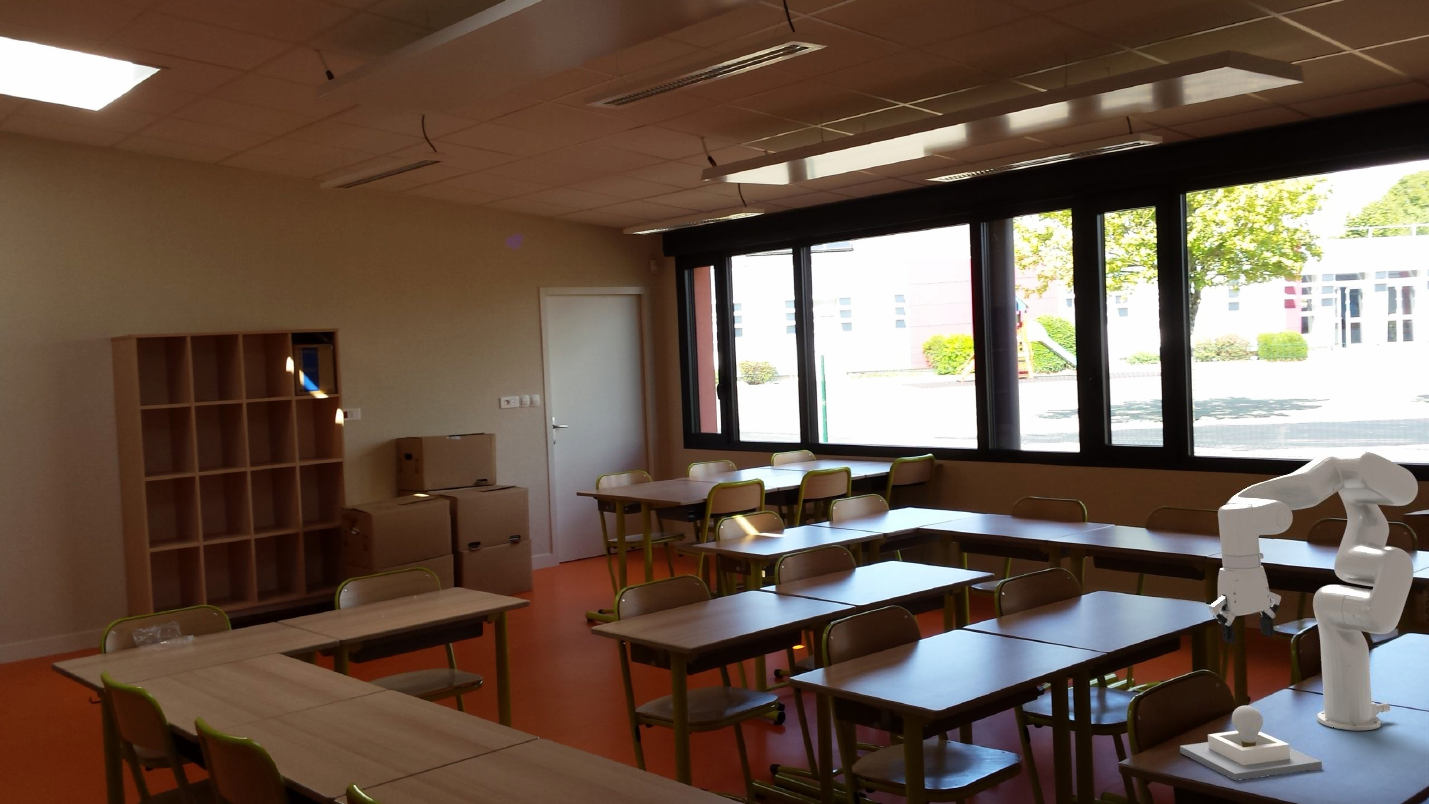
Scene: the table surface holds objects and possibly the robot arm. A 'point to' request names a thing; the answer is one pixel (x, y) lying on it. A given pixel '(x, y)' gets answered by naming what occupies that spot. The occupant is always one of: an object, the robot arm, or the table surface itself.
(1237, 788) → the table surface
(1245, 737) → the light bulb
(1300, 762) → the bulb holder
